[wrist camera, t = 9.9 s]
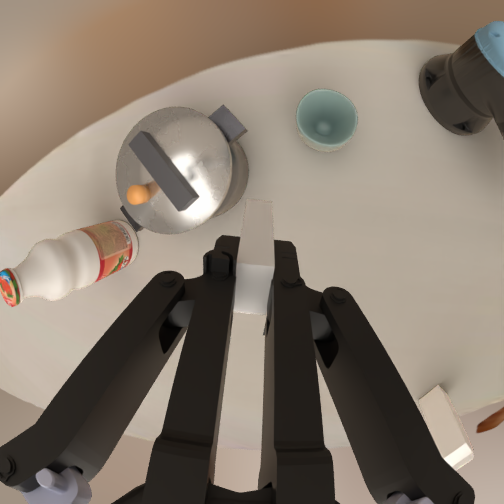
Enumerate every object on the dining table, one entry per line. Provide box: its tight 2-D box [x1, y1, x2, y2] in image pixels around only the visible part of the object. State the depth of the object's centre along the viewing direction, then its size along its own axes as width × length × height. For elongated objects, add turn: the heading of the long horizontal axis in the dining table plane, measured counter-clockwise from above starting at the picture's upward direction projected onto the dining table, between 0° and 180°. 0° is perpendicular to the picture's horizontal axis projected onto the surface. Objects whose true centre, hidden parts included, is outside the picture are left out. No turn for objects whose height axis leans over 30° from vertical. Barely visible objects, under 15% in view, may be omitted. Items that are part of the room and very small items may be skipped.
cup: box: [296, 89, 358, 152], centre depth 34 cm, size 8×8×10 cm
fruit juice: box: [0, 220, 138, 307], centre depth 37 cm, size 9×9×28 cm
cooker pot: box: [120, 105, 249, 232], centre depth 38 cm, size 15×20×12 cm
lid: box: [116, 107, 232, 234], centre depth 31 cm, size 16×16×3 cm
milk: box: [418, 385, 474, 471], centre depth 35 cm, size 6×6×22 cm
